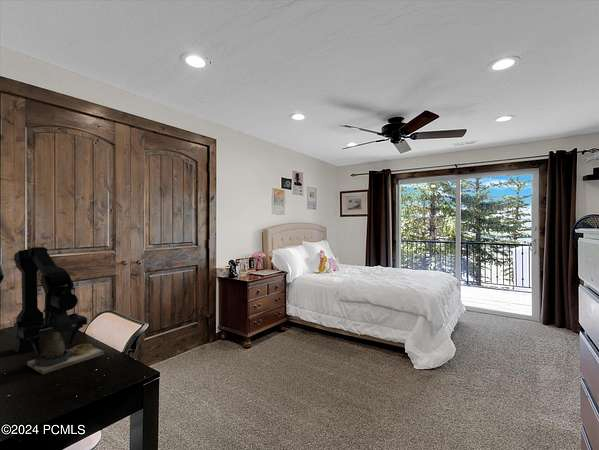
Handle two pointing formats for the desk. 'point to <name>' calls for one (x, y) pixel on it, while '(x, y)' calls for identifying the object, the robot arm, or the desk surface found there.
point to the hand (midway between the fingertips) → (54, 350)
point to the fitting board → (71, 361)
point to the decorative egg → (54, 346)
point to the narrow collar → (82, 349)
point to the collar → (50, 362)
